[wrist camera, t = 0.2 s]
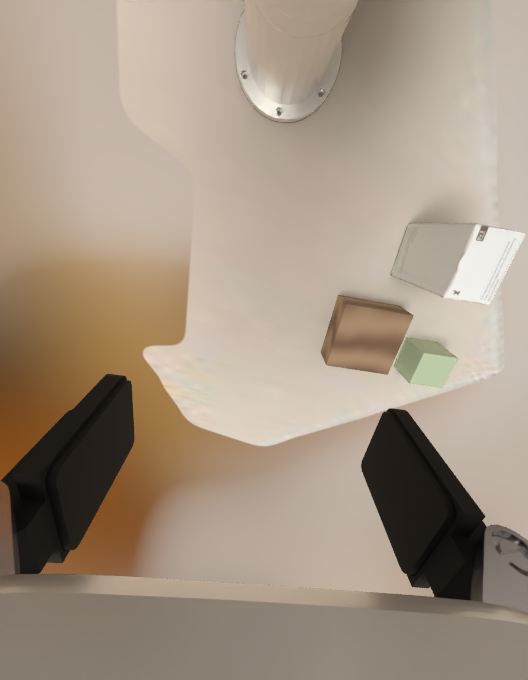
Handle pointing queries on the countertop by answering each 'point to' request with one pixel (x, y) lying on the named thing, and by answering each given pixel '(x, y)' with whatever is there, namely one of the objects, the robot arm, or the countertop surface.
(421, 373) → the sage cube
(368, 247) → the countertop surface
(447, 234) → the skincare box
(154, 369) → the countertop surface
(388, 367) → the walnut block
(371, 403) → the countertop surface
